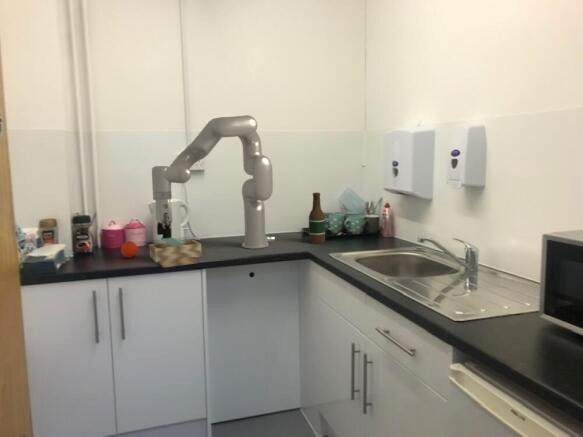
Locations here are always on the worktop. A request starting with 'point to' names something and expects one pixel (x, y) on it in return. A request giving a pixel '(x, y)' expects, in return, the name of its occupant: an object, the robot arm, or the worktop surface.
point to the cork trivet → (177, 262)
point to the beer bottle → (316, 222)
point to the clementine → (129, 249)
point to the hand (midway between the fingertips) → (164, 236)
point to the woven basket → (175, 250)
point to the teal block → (172, 241)
